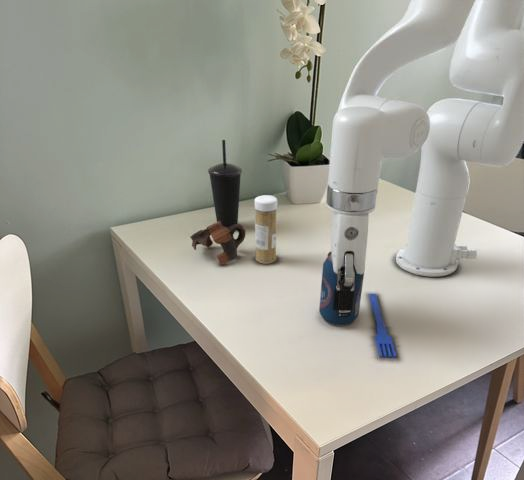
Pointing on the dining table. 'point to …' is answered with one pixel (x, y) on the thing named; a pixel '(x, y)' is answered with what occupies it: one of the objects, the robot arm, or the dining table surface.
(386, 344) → the blue fork
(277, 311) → the dining table surface
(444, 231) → the robot arm
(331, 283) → the soda can
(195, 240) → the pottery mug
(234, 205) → the drinking cup
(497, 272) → the dining table surface
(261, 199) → the sprinkles bottle
